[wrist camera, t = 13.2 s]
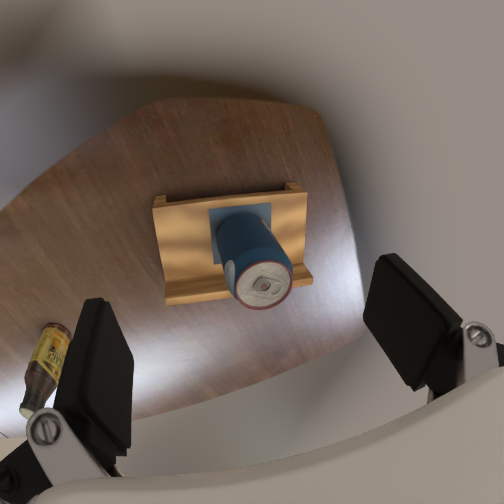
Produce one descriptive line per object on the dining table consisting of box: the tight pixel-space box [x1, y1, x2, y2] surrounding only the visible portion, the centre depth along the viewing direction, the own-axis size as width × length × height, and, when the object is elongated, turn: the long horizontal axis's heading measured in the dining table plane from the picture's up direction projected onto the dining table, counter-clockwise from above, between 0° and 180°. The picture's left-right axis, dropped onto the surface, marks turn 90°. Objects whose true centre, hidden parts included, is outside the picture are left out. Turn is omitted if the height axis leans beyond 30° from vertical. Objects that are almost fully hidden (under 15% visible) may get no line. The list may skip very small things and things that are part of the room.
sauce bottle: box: [19, 324, 71, 420], centre depth 37 cm, size 7×6×20 cm
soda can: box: [216, 213, 293, 310], centre depth 34 cm, size 7×7×12 cm
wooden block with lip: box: [152, 182, 313, 306], centre depth 40 cm, size 12×20×9 cm, turn 91°
